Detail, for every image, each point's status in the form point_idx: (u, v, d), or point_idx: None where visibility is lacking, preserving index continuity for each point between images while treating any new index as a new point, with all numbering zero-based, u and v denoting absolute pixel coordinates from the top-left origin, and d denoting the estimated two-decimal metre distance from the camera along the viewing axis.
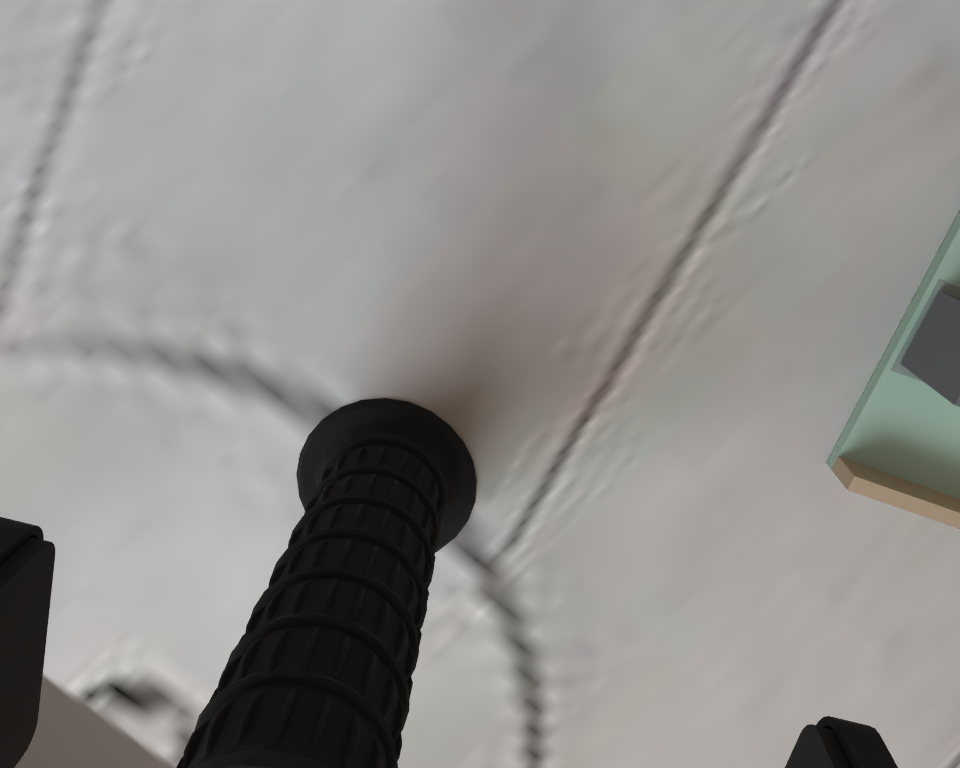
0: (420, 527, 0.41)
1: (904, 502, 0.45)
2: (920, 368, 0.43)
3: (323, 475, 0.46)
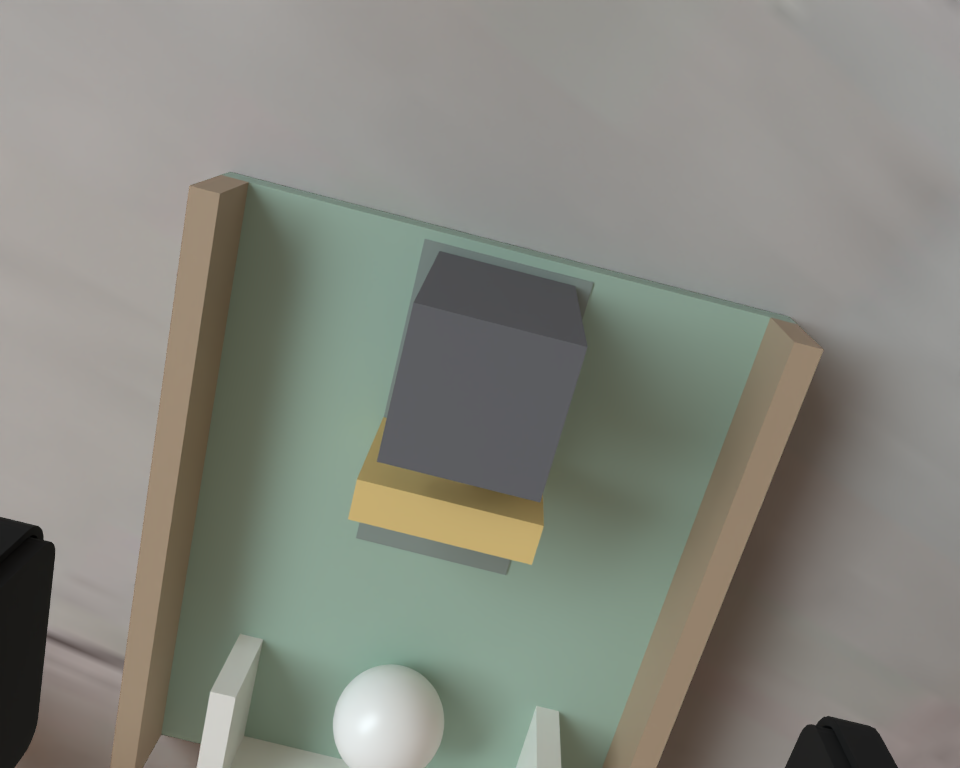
0: None
1: (187, 298, 0.24)
2: (447, 268, 0.24)
3: None
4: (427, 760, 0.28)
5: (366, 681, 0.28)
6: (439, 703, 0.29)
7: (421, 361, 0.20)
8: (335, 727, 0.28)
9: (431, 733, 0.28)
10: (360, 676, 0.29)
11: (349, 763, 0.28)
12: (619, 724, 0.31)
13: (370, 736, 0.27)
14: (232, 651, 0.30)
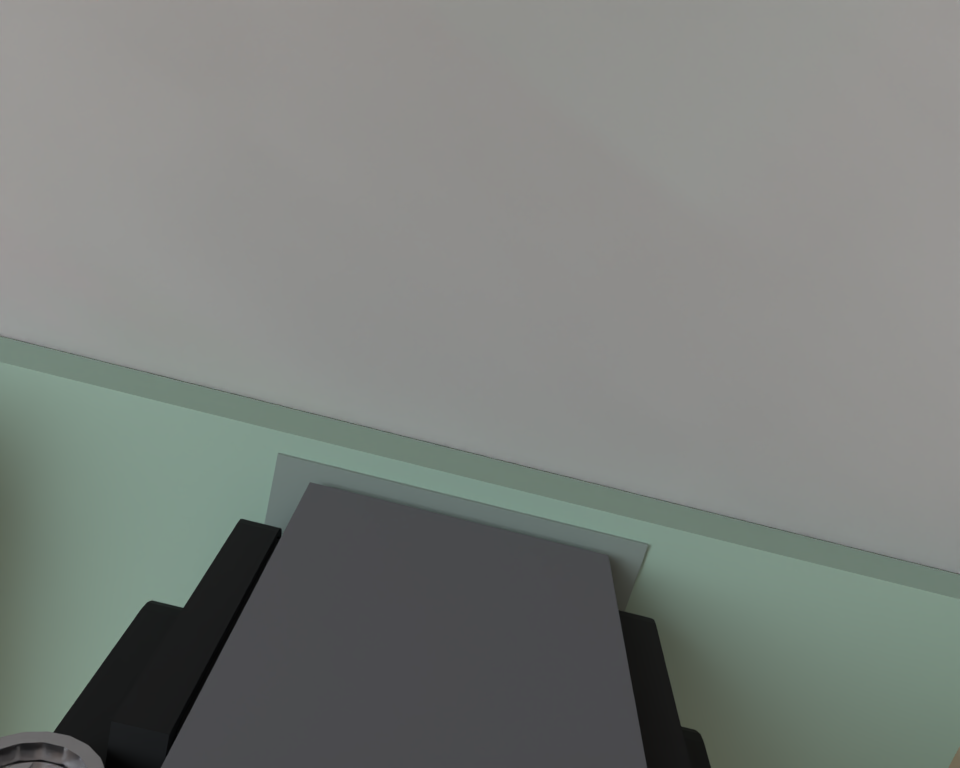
0: None
1: None
2: (308, 567, 0.10)
3: None
4: None
5: None
6: None
7: None
8: None
9: None
10: None
11: None
12: None
13: None
14: None
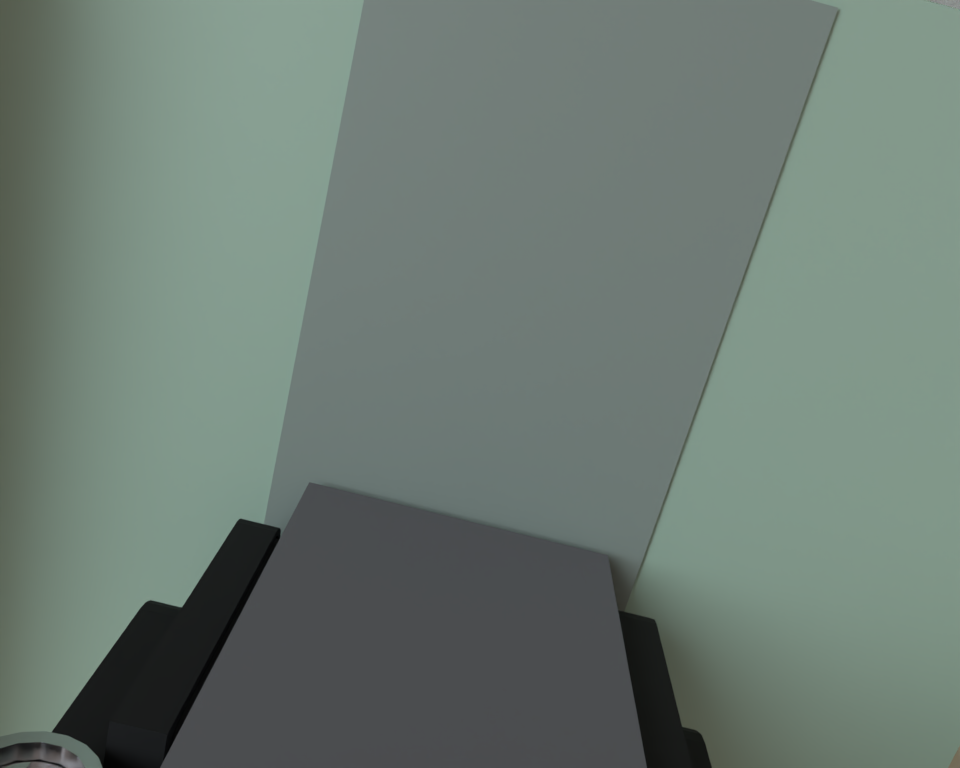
0: None
1: None
2: (306, 568, 0.10)
3: None
4: None
5: None
6: None
7: None
8: None
9: None
10: None
11: None
12: None
13: None
14: None
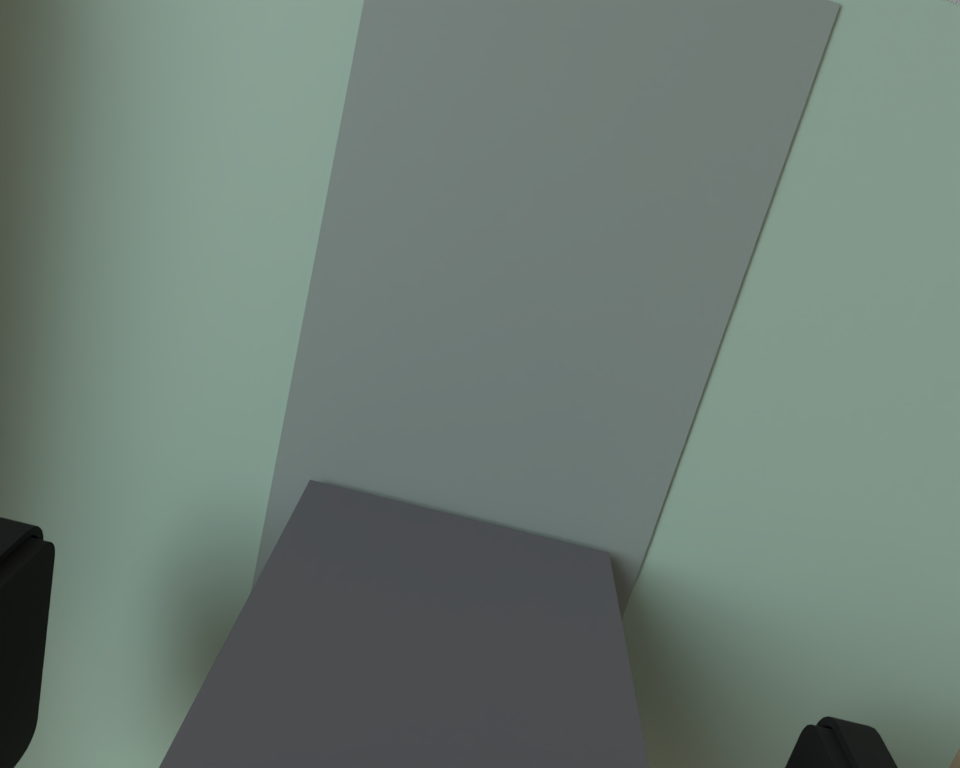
0: None
1: None
2: (307, 564, 0.10)
3: None
4: None
5: None
6: None
7: None
8: None
9: None
10: None
11: None
12: None
13: None
14: None
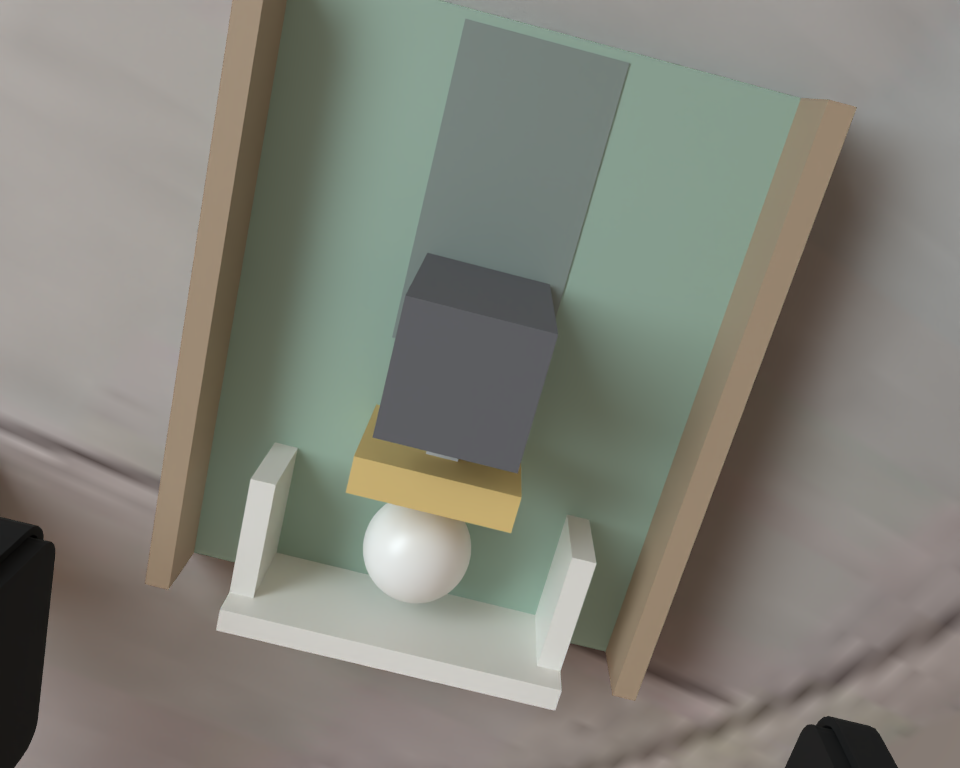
0: None
1: (237, 60, 0.24)
2: (435, 268, 0.26)
3: None
4: (453, 587, 0.29)
5: (392, 518, 0.29)
6: (465, 536, 0.29)
7: (412, 348, 0.23)
8: (364, 556, 0.29)
9: (455, 568, 0.29)
10: (387, 509, 0.29)
11: (379, 587, 0.29)
12: (648, 531, 0.31)
13: (396, 573, 0.28)
14: (269, 453, 0.30)
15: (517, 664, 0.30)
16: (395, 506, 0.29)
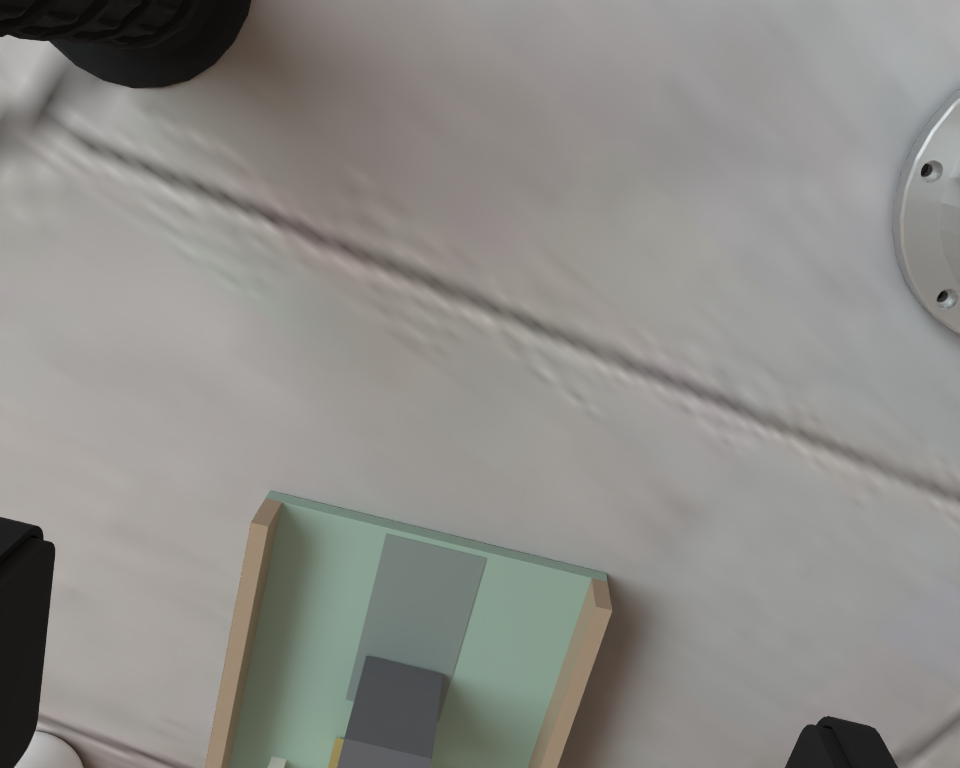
0: (98, 15, 0.29)
1: (248, 579, 0.42)
2: (368, 682, 0.44)
3: None
4: None
5: None
6: None
7: (349, 763, 0.40)
8: None
9: None
10: None
11: None
12: None
13: None
14: None
15: None
16: None
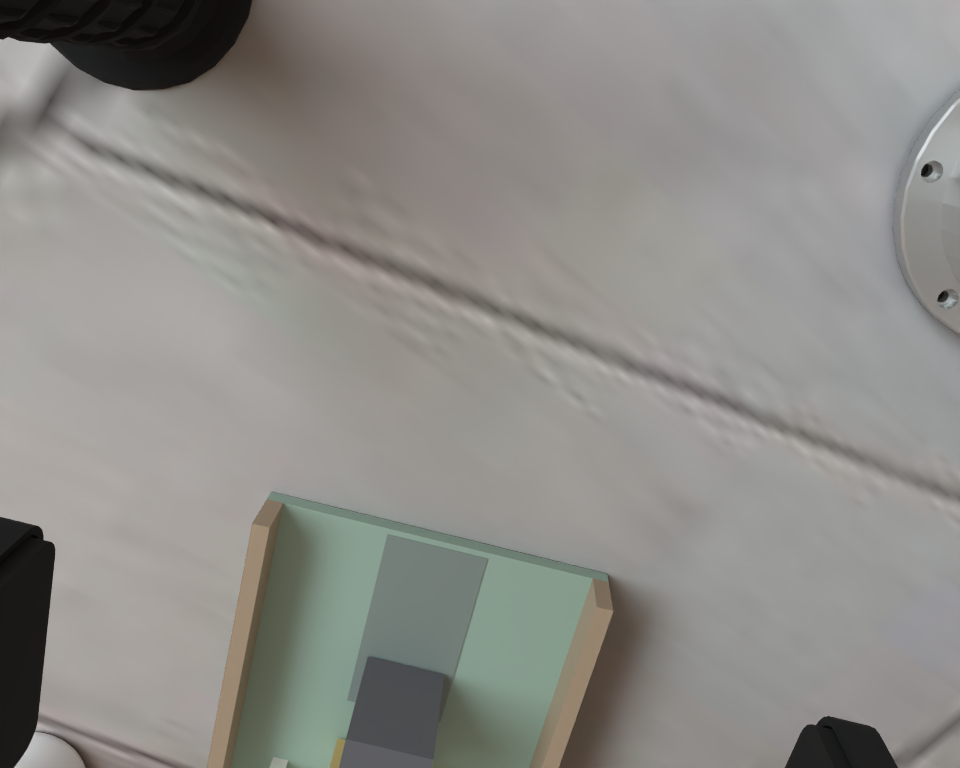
0: (99, 17, 0.29)
1: (249, 580, 0.42)
2: (369, 682, 0.44)
3: None
4: None
5: None
6: None
7: (350, 764, 0.40)
8: None
9: None
10: None
11: None
12: None
13: None
14: None
15: None
16: None
